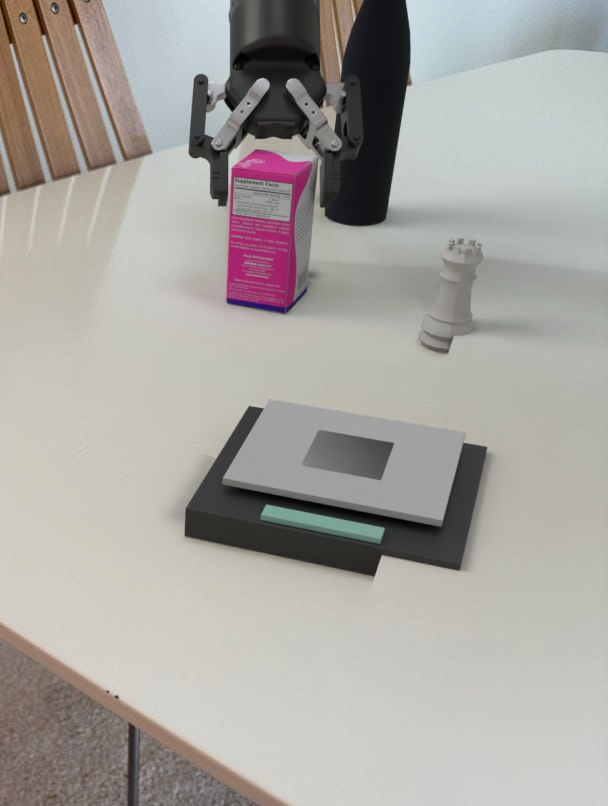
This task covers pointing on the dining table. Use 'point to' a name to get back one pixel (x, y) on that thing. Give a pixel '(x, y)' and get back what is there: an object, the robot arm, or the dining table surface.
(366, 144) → the wine bottle
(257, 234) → the supplement box
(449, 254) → the rook chess piece
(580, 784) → the dining table surface
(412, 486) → the kitchen scale
